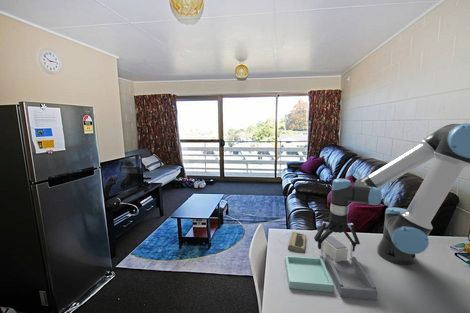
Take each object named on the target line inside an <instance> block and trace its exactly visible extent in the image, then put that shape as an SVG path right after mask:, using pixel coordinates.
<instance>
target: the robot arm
mask: <svg viewBox="0 0 470 313" xmlns="http://www.w3.org/2000/svg"><path fill="white" fill-rule="evenodd" d="M434 158H435V159H434ZM433 159H434V162H433V163H432V165H431V167H430V168H429V170H428V172H427V173H426V176H425V177H424V179H423V181H422V182H421V184H420V186H419V188H418V189H417V191H416V192H415V195H414V197H413V198H412V200H411V202H410V203H409V205H408V207H407V208H401V207H393V206H392V207H390V206H389V207H387V208H386V209H385V212H384V224H383V234H382V237H381V240H380V242H379V243H378V245H377V250H376V251H377V254H378V255H379V256H380V257H382V258H383V259H385V260H387V261H389V262H392V263H395V264H400V265H404V266H405V265H413V264H415V262H416V257H417V255H419V254H421V253H423V252H425V251H426V250H427V249H428V248H429V244H430V243H429V241H430V240H429V237H428V236H429V235H430V233H431V232H432V230H433V228H434V226H433V225H432V223H431V222H432V221H433V219H434V217H435V216H436V214H437V212H438V211H439V209H440V207H441V206H442V204H443V203H444V201H445V200H446V197H447V196H448V194H449V193H450V191H451V189H452V188H453V186H454V185H455V183H456V182H457V180H458V178H459V176H460V175H461V173H462V172H463V170H464V169H465V168H466V167H470V123H469V122H468V123H466V122H465V123H450V124H446V125H444V126H442V127H440V128H439V129H437V130H435V131H433V133H430V135H428V136H426V137H425V138H423V139H421V140H420V143H419V144H417V146H415V147H412V148H411V149H410V150H408V151H406V152H404V153H403V154H401V155H400V156H398V157H396V158H395V159H393V160H391V161H390V162H388V163H387V164H385V165H383V166H381V167H380V168H378V169H377V170H375V171H373V172H372V173H370V174H368V175H366V176H365V177H363V178H358V179H356V180H355V182H354V184H352V182H351V180H349V179H347V178H335V179H333V180H332V183H331V184H332V185H331V197H330V207H329V209H330V212H329V221H328V222H326V221H325V220H322V221H321V224H320V227H319V229H318V230H317V232H316V234H315V235H314V237H313V239H314V241H315V242H317V248H318V250H319V252H318V253H319V256H320V258H323V255H324V254H323V253H324V251H323V241H324V240H325V239H326V238H327V237H328V236H331V235H332V234H333V233H336V234H337V233H339V234H342V233H344V235H345V236H346V238H347V239H348V240H349V243H348V256H347V257H348V258H349V259H350V260H352V257H353V253H354V252H355V250H356V246H357V245H360V244H361V243H360V240H359V237H358V235H357V232H356V230H355V224H354V223H353V222H349V223H348V219H349V205H350V202H351V203H357V204H363V205H369V206H379V205H380V204H381V202H382V197H383V196H382V189H381V188H383V187H384V186H386V185H388V184H390V183H392V182H393V181H396V180H397V179H398V178H400V177H402V176H403V175H404V176H405V174H408V173H409V172H411V171H413V170H414V169H417V168H418V167H420V166H421V165H423V164H425V163H427V162H428V161H430V160H433ZM327 227H328V228H327ZM326 228H327V229H326ZM347 228H349V229H350V232H351V233H352V236H353V238H352V237H351V236H350V234H349V233H348V232H347V230H346V229H347ZM353 239H354V240H353ZM416 254H417V255H416Z"/></svg>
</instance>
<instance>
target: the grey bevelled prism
mask: <svg viewBox="0 0 470 313" xmlns="http://www.w3.org/2000/svg"><path fill="white" fill-rule="evenodd" d="M348 251H349V247H347V246H346V245H344V244H343V243H342V242H341V241H339V240H338V239H337V238H335V236H333V235H329V236H328V237H327V238H326V239H325V240H324V241H323V253H325V255H329V257H330V259H331V260H333V261H334V262H336V263H339V262H343V261H344V262H345V261H348V257H349V256H348Z"/></svg>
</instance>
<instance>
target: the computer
mask: <svg viewBox="0 0 470 313" xmlns="http://www.w3.org/2000/svg"><path fill="white" fill-rule="evenodd" d="M289 238H290V239H289V241H288V245H287V246H288V247H287V250H290V251H295V252H302V253H305V251H306V242H307V235H306V234H305V233H301V232H297V231H291V234H290V236H289Z"/></svg>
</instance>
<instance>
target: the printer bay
mask: <svg viewBox="0 0 470 313" xmlns="http://www.w3.org/2000/svg"><path fill="white" fill-rule="evenodd" d="M324 264H325V266H326V269H327V271H328V273H329V275H330V278H331V280H332V282H333V284H334V287H335V289H336V291H337V293H338V295H339V297H340V298H350V299H351V298H352V299H359V300H360V299H361V300H371V301H373V300H374V301H378V300H377V298H378V289H377V287H376V286H375V283H374V282H373V281H372V279H371V278H370V277H369V275H368V274H367V272H366V271H365V269H364V268H363V267H362V265H361V263H360V261H358V259H357V258H356V257H355V256H352V259H351V264H350V266H351V268H352V269H353V270H354V272H355V273H356V275H357V276H358V278H359V279H360V281H361V283H362V285H363V287H361V286H360V287H358V286H347V285H344V282H343V281H342V279H341V277H340V275H339V273H338V272H337V269H336V267H335V266H334V263H333V261H332V258H331V257H330V256H329V255H327V254H325V260H324Z"/></svg>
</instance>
